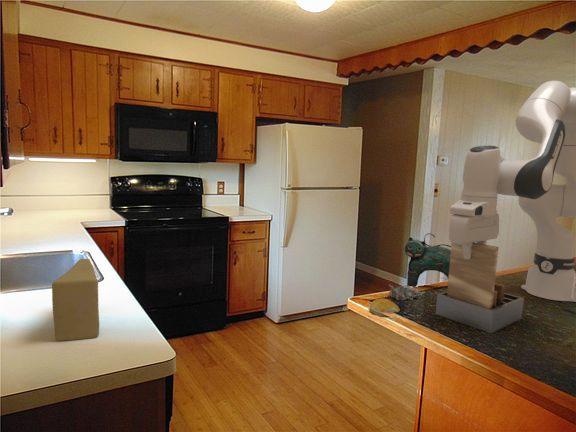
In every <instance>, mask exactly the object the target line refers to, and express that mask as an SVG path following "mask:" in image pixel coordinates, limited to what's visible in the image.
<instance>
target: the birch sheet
mask: <svg viewBox="0 0 576 432" xmlns="http://www.w3.org/2000/svg"><path fill="white" fill-rule="evenodd" d="M450 246H451V247H450V249H451V255H450V267H449V278H447V289H446V291H447V296H449V297H452V298H456V299H459V300H462V301H466V302H469V303H472V304H476V305H479V306H482V307H486V308H489V309H492V305H493V296H494V286H495V283H496V276H497V275H496V274H497V265H498V257H499V256H498V255H499V246H494V245H488V244H486V245H485V244H479V243H476V242H475V243H472V247H471V252H473V255H472V259H464V257H463V256H464V251H463V248H462V245H459V244H454V243H451V245H450Z"/></svg>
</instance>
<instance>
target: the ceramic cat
mask: <svg viewBox="0 0 576 432" xmlns="http://www.w3.org/2000/svg"><path fill="white" fill-rule="evenodd" d="M428 235H431V236H432V237H434V238H436V236H435V235H434V234H433V233H429V232H428V233H426V234H425V235H424V236H423V241H421V240H420V239H413V238H412V236H411V237H409V238H408V241H407V243H406V245H405V247H404V253H405V255H406V256H408V257H409V258H410V260H409V262H408V264H407V265H408V267H407V269H408V270H407V273H406V275H407V277H406V279H407V280H406V283H407V284H406V286H409V287H411V288H415V287H417V286H418V282H419V278H420V276H421V275H422V274H423V273H424V272H426V271H435V272H439V273H442V274H443V275H445V276H446V278H447V279H448V278H449V267H450V255H451V245H449V244H443V243H441V244H435V245H429V244H428V243H426V236H428ZM443 246H446V247H443ZM448 247H449V248H448Z"/></svg>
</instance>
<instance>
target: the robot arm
mask: <svg viewBox="0 0 576 432" xmlns="http://www.w3.org/2000/svg"><path fill="white" fill-rule="evenodd" d="M515 127H516V129H517V131H518V133H519V134H520V135H521V136H522V137H523V138H524V139H527V140H528V141H531V142H534V143H538V144H540V145H539V148H538V150H537V153H536V156H535V157H533V158H530V159H529V158H528V159H507V158H505V157H503V156H502V155H501V150H500V147H499V146H495V145H479V146H473V147H472V148H470V149H468V151H467V153H466V156H465V161H464V165H463V172H462V173H463V174H462V183H463V188H462V190H461V195H460V196H461V197H460V199H459V200H458V201H456V202H455V203H453V204H452V205H451V206H450V209H449V212H450V214H452V215H451V217H450V219H449V229H448V232H449V233H448V239H449V241H450V243H451V244H452V243H454V244H459V245H462V248H463V251H464V256H463V257H464V259H472V255H473V252H471V247H472V243H479V244H485V245H487V241H490V240H494V239H497V238H498V236H499V234H500V233H499V231H500V215H499V213H497V212H498V210H497V206H498V197H499V196H498V195H502V196H511V197H517V198H518V199H517V201H518V205H519V207H520V209H521V210H522V211H523V212H524V213H526V214H527V215H528V217H530V219H531V220H532V221H533V223H534V225H535V228H536V234H537V235H536V236H537V238H536V239H537V240H536V252H535V253H534V256H533V265H531V266H530V267H528V270H527V274H526V280H525V284H521V287H520V288H521V289H522V290H525V292H527V293H528V294H529V295H532V296H535V297H538V298H543V299H546V300H551V301H559V302H560V301H561V302H575V303H576V270H575V269H574V268H575V266H576V256H575V249H576V236H575V233H574V232H573V231H572V230H570V229H569V228H567V227H565V226H563V225H561V224H559V223H558V221H557V218H559V217H561V218H574V219H576V87H569V86H568V85H567V84H566V83H564V82H563V81H560V80H549V81H546V82H544V83H542V84H541V85H539V86H538V87H537V88H536V89H535V90H534V91H533V92H532V93H530V95H529V96H528V97H527V98H526V100H525V102H524V103H523V104H522V105H521V107H520V109H519V110H518V113H517V115H516V117H515ZM555 174H556V175H558V176H560V177H562V178H564V179H565V180H566V183H565V184H555V183H553V181H554V175H555Z"/></svg>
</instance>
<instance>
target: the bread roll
mask: <svg viewBox="0 0 576 432" xmlns="http://www.w3.org/2000/svg"><path fill="white" fill-rule="evenodd" d="M369 311H370V312H371V313H373V314H374V315H375V316H377V317H382V318H390V316H389V315H386V314H387V313H398V312H400V311H401V310H400V308H399V306H398V305H397V304H396V303H395V302H393V301H392V300H391V299H388V298H384V297H383V298H376V299H374V300H373V301H371V302H370V304H369ZM384 313H386V314H384Z"/></svg>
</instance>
